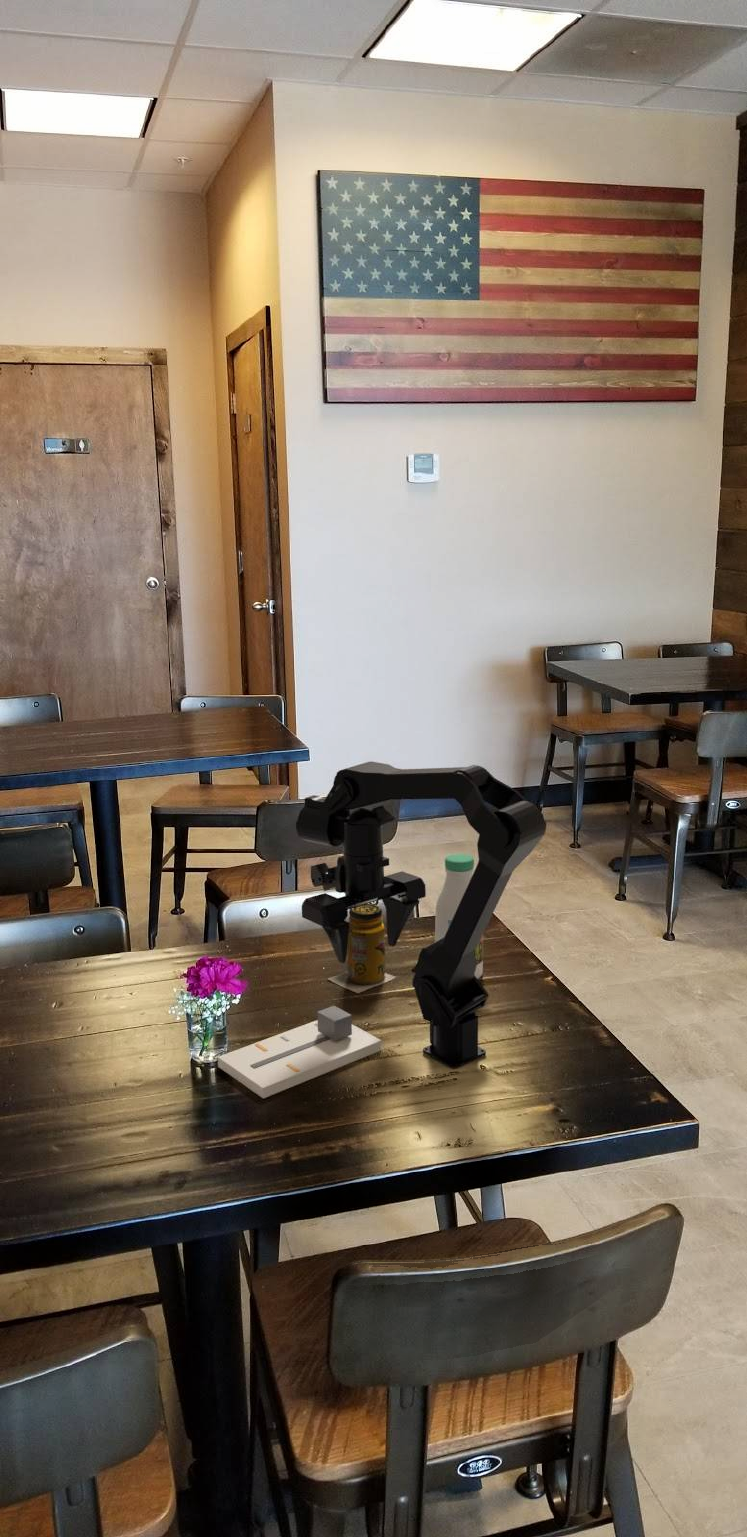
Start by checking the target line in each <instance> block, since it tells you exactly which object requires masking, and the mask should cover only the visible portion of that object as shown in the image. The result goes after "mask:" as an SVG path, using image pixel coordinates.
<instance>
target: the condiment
mask: <svg viewBox="0 0 747 1537" xmlns="http://www.w3.org/2000/svg"><path fill="white" fill-rule="evenodd" d="M348 915H349V918H348V922H349V934H348V946H347V971H346V972H341V973H340V974H337V975H335V976H331V977H329V978H328V977H327V980H329V981H330V982H331V983H334V984H335V985H338V986H340V987H342V988H344V989H347V990H350V991H352V992H354V993H357V994H360V993H361V992H365V991H367V990H369V989H372V988H374V987H375V988H376V987H377V986H381V985H383V984H386V983H387V982H389V981H392V980H395V979H396V978H397V976H394V975H392V974H389V973H387V972H386V953H385V951H386V948H385V947H386V946H385V944H386V942H385V939H386V938H385V936H386V935H385V924H384V923H383V922H384V921H383V909H382V907H380V906H379V905H377V904H373V903H368V904H365V905H361V906H358V907H355V908H351V909H349V910H348Z"/></svg>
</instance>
